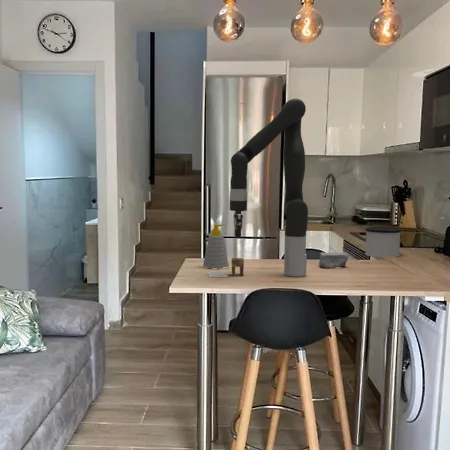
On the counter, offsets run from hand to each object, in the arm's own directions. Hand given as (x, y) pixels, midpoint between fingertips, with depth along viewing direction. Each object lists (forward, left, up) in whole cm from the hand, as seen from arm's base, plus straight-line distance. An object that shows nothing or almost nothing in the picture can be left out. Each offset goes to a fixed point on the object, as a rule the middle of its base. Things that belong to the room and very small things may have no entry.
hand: (237, 237), depth 206 cm
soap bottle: (+9, -20, -17) cm, 28 cm away
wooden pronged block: (0, 0, -17) cm, 17 cm away
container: (-86, -59, -17) cm, 106 cm away
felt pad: (+8, 0, -17) cm, 19 cm away
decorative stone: (-47, -21, -17) cm, 54 cm away
